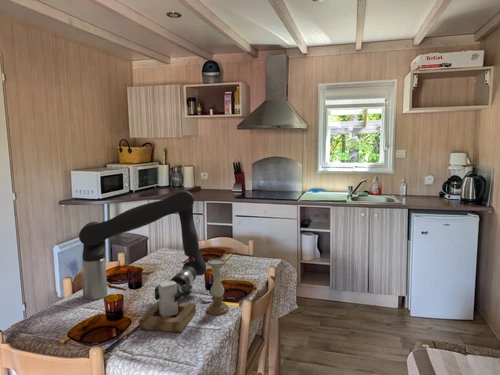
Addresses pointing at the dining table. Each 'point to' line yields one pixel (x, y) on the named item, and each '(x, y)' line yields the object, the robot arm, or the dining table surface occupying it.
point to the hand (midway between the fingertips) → (165, 298)
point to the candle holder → (217, 289)
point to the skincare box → (168, 299)
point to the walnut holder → (167, 319)
